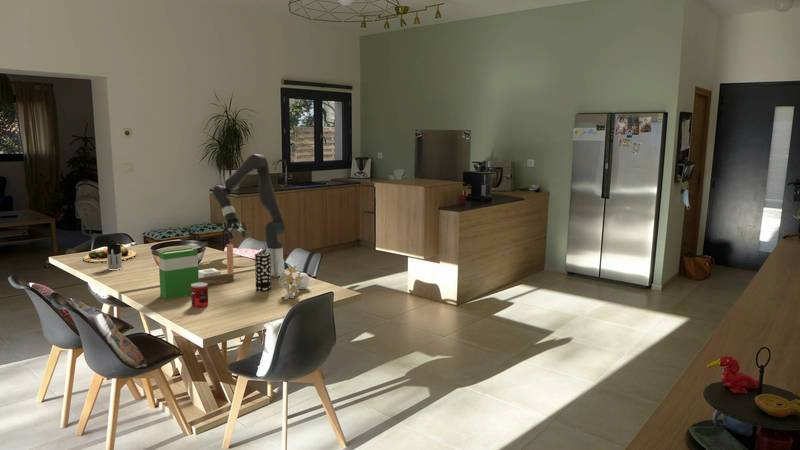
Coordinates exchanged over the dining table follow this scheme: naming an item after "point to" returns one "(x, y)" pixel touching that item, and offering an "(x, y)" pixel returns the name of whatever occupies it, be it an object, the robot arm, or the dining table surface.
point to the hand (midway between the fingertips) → (238, 238)
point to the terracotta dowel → (230, 259)
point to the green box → (177, 272)
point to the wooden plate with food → (103, 256)
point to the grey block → (208, 272)
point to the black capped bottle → (114, 256)
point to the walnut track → (217, 279)
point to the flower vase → (294, 281)
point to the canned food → (199, 294)
